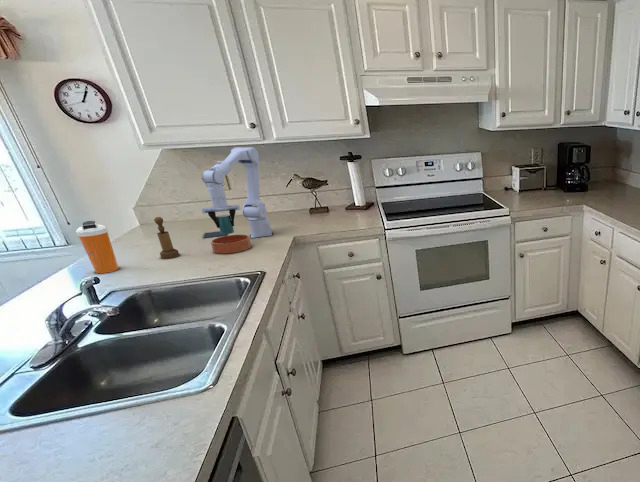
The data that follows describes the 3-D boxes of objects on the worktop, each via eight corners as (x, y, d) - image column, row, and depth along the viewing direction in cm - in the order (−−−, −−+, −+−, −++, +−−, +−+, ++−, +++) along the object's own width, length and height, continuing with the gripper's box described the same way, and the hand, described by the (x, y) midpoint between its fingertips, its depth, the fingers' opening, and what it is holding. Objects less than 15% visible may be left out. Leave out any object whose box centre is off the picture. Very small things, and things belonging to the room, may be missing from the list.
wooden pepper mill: (158, 259, 180) (144, 219, 173) (165, 255, 186) (152, 215, 179) (175, 258, 181) (163, 218, 175) (182, 253, 187) (170, 214, 180)
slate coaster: (227, 231, 223) (226, 230, 223) (226, 235, 215) (226, 234, 215) (205, 233, 218) (204, 233, 218) (203, 238, 210) (203, 237, 210)
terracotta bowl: (251, 242, 203) (248, 232, 201) (251, 251, 191) (249, 240, 189) (214, 247, 196) (211, 237, 194) (213, 256, 184) (210, 245, 182)
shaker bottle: (119, 265, 174) (101, 218, 166) (124, 269, 168) (106, 222, 161) (90, 270, 167) (71, 223, 160) (94, 276, 162) (74, 226, 154)
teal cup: (234, 230, 196) (229, 213, 193) (234, 233, 192) (229, 216, 189) (220, 232, 194) (216, 215, 190) (220, 234, 189) (215, 217, 186)
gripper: (198, 200, 180) (206, 230, 185) (236, 197, 187) (243, 226, 192) (199, 198, 185) (207, 227, 191) (236, 194, 192) (243, 223, 197)
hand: (225, 226), depth 192 cm, fingers closed on teal cup, 5 cm apart
